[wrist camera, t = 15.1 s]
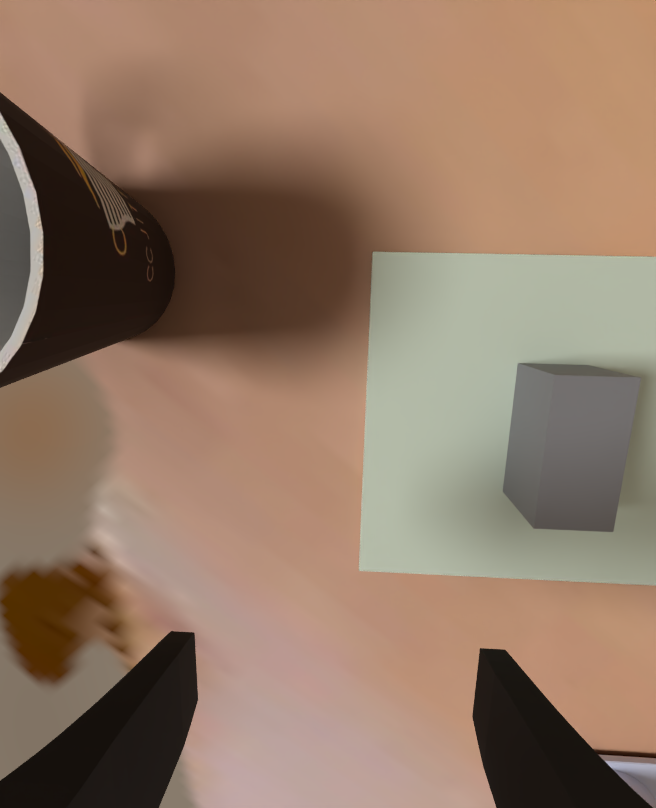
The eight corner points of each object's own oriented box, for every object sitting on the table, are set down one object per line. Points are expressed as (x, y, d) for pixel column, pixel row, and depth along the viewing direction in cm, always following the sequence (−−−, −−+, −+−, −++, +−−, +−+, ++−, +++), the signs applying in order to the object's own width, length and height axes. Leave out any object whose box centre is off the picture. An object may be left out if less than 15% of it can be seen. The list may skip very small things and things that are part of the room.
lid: (678, 574, 22) (761, 642, 17) (358, 559, 22) (360, 620, 18) (747, 261, 19) (871, 246, 14) (371, 254, 19) (378, 238, 15)
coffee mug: (213, 356, 20) (81, 401, 10) (34, 371, 20) (-254, 429, 11) (170, 67, 17) (-57, -239, 8) (-31, 94, 18) (-479, -157, 8)
